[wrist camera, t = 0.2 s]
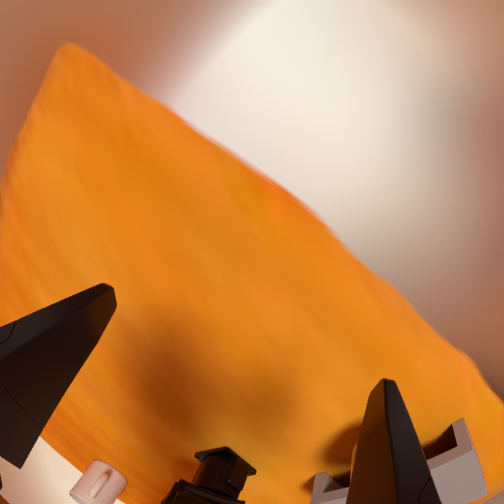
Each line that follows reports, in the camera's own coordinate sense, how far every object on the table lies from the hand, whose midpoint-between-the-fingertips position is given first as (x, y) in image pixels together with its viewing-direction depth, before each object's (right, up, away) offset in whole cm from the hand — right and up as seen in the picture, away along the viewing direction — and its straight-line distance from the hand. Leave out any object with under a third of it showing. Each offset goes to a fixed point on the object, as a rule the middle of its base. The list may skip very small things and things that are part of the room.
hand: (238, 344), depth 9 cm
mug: (-29, -42, +39) cm, 65 cm away
